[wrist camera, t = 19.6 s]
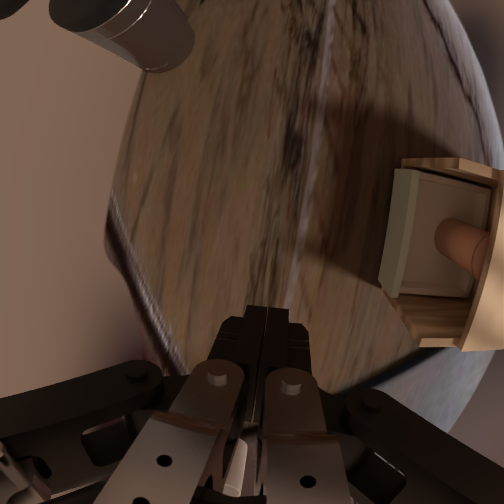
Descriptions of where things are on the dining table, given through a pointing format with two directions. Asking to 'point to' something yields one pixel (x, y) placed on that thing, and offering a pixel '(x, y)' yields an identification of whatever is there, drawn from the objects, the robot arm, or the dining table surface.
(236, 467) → the mug
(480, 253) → the canister
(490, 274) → the housing
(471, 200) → the tray
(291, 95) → the dining table surface
